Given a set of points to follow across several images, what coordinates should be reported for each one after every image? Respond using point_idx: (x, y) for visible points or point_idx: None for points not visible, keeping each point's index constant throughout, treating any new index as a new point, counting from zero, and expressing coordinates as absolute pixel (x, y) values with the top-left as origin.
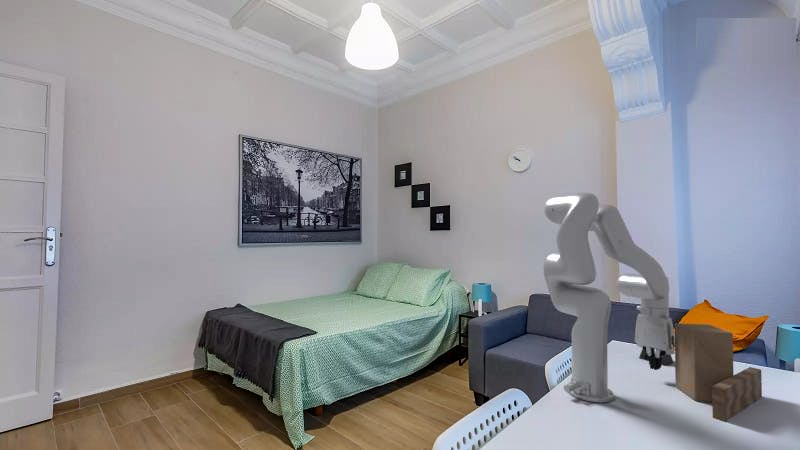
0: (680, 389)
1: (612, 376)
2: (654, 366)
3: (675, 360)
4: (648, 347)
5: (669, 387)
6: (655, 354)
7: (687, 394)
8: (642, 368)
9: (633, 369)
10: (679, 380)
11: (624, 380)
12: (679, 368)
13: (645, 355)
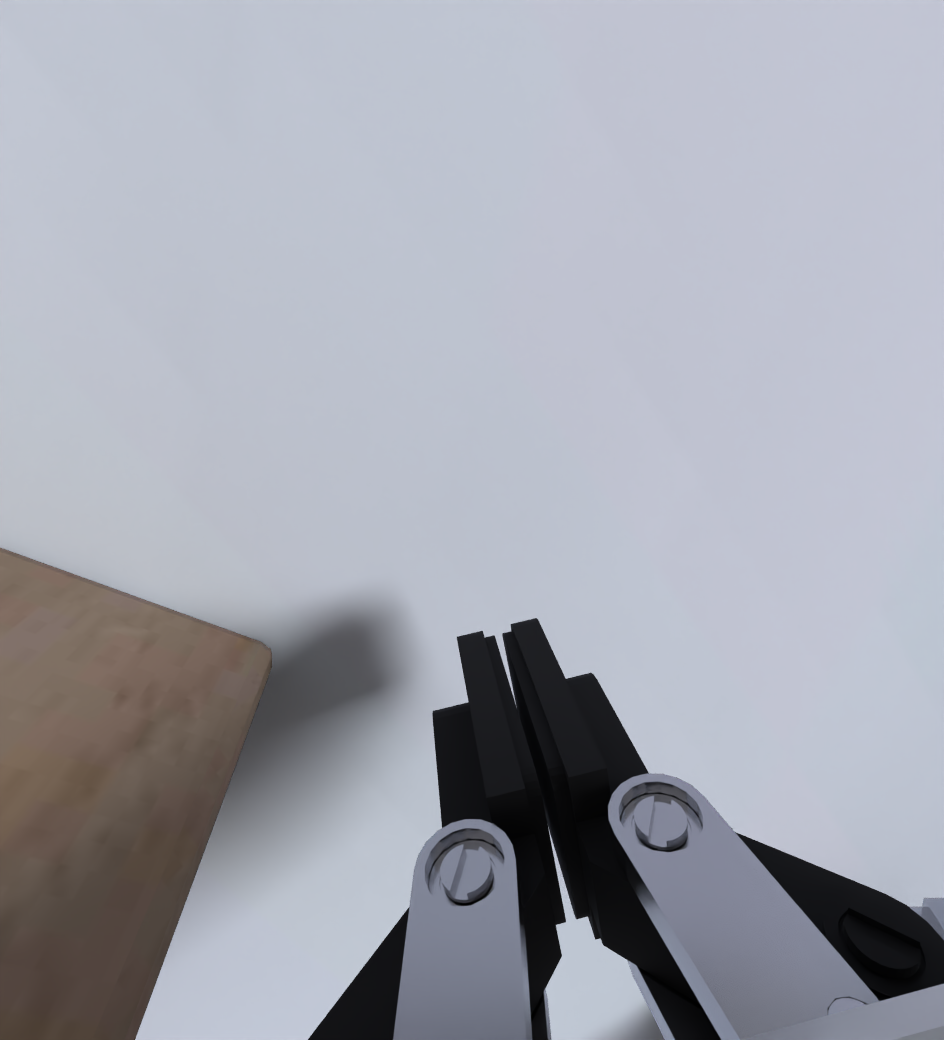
0: (158, 609)
1: (802, 181)
2: (476, 660)
3: (91, 1009)
4: (788, 1024)
5: (290, 580)
6: (505, 887)
7: (4, 552)
8: (761, 759)
9: (792, 657)
10: (129, 678)
11: (639, 216)
12: (8, 839)
13: None
